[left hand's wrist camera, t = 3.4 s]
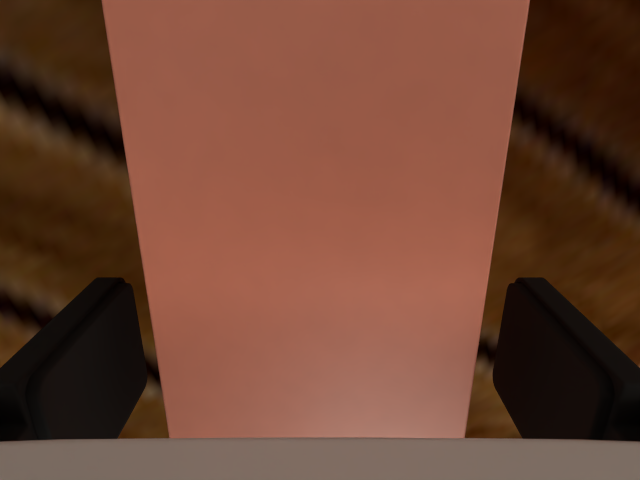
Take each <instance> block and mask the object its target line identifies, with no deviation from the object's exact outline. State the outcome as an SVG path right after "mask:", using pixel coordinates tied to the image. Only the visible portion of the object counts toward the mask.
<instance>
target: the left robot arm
mask: <svg viewBox="0 0 640 480" xmlns="http://www.w3.org/2000/svg"><path fill="white" fill-rule="evenodd" d="M146 383H147V368H146V363H145V357H144V351H143V345H142V339H141V334H140V328H139V322H138V316H137V310H136V305H135V299H134V293H133V288H132V286H131V284H129V283H125V281H124V279H123V278H96V279H95V280H93V281H92V282H91V283H90V284H89V285H88V286H87V287H86V288H85V289H84V290H83V291H82V292H81V293H80V294H79V295H78V296H76V297H75V298H74V299H73V300H72V301H71V302H70V303H69V304H68V305H67V306H66V307H65V308H64V309H63V310H62V311H61V312H59V313H58V314H57V315H56V316H55V317H54V318H53V319H52V320H51V321H50V322H49V323H48V324H47V325H46V326H45V327H43V328H42V329H41V330H40V331H39V332H38V333H37V334H36V335H35V336H34V337H33V338H32V339H31V340H30V341H29V342H28V343H26V344H25V345H24V346H23V347H22V348H21V349H20V350H19V351H18V352H17V353H16V354H15V355H14V356H13V357H12V358H11V359H9V360H8V361H7V362H6V363H5V364H4V365H3V366H2V367H1V368H0V480H640V368H639V367H638V366H637V365H636V364H635V363H634V362H633V361H632V360H631V359H629V358H628V357H627V356H626V355H625V354H624V353H623V352H622V351H621V350H620V349H619V348H618V347H617V346H616V345H615V344H614V343H612V342H611V341H610V340H609V339H608V338H607V337H606V336H605V335H604V334H603V333H602V332H601V331H600V330H599V329H598V328H597V327H595V326H594V325H593V324H592V323H591V322H590V321H589V320H588V319H587V318H586V317H585V316H584V315H583V314H582V313H581V312H579V311H578V310H577V309H576V308H575V307H574V306H573V305H572V304H571V303H570V302H569V301H568V300H567V299H566V298H565V297H564V296H562V295H561V294H560V293H559V292H558V291H557V290H556V289H555V288H554V287H553V286H552V285H551V284H550V283H549V282H548V281H547V280H545V279H544V278H517V279H516V281H515V283H511V284H509V286H508V288H507V293H506V299H505V305H504V310H503V316H502V322H501V328H500V334H499V339H498V345H497V351H496V357H495V363H494V368H493V383H494V386H495V389H496V391H497V392H498V394H499V396H500V398H501V400H502V402H503V403H504V405H505V407H506V409H507V411H508V413H509V414H510V416H511V418H512V420H513V422H514V424H515V425H516V427H517V429H518V431H519V433H520V435H521V436H522V438H523V439H490V438H380V437H262V438H152V439H117V438H118V436H119V435H120V433H121V431H122V429H123V427H124V425H125V424H126V422H127V420H128V418H129V416H130V414H131V413H132V411H133V409H134V407H135V405H136V403H137V402H138V400H139V398H140V396H141V394H142V392H143V391H144V389H145V386H146Z"/></svg>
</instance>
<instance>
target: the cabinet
mask: <svg viewBox="0 0 640 480" xmlns="http://www.w3.org/2000/svg"><path fill="white" fill-rule="evenodd" d="M529 2H530V0H102V6H103V13H104V19H105V26H106V32H107V38H108V45H109V51H110V58H111V64H112V71H113V77H114V83H115V90H116V96H117V103H118V109H119V116H120V122H121V129H122V135H123V141H124V148H125V154H126V161H127V167H128V174H129V180H130V187H131V193H132V199H133V206H134V212H135V219H136V225H137V232H138V238H139V244H140V251H141V257H142V264H143V270H144V277H145V283H146V290H147V296H148V302H149V309H150V315H151V322H152V328H153V335H154V341H155V348H156V354H157V360H158V367H159V373H160V380H161V386H162V393H163V399H164V406H165V412H166V418H167V425H168V431H169V438H262V437H380V438H465V431H466V425H467V418H468V411H469V404H470V398H471V391H472V384H473V378H474V371H475V364H476V357H477V351H478V344H479V337H480V331H481V324H482V317H483V311H484V304H485V297H486V290H487V284H488V277H489V270H490V264H491V257H492V250H493V243H494V237H495V230H496V223H497V217H498V210H499V203H500V196H501V190H502V183H503V176H504V170H505V163H506V156H507V150H508V143H509V136H510V129H511V123H512V116H513V109H514V103H515V96H516V89H517V82H518V76H519V69H520V62H521V56H522V49H523V42H524V35H525V29H526V22H527V15H528V9H529Z"/></svg>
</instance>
